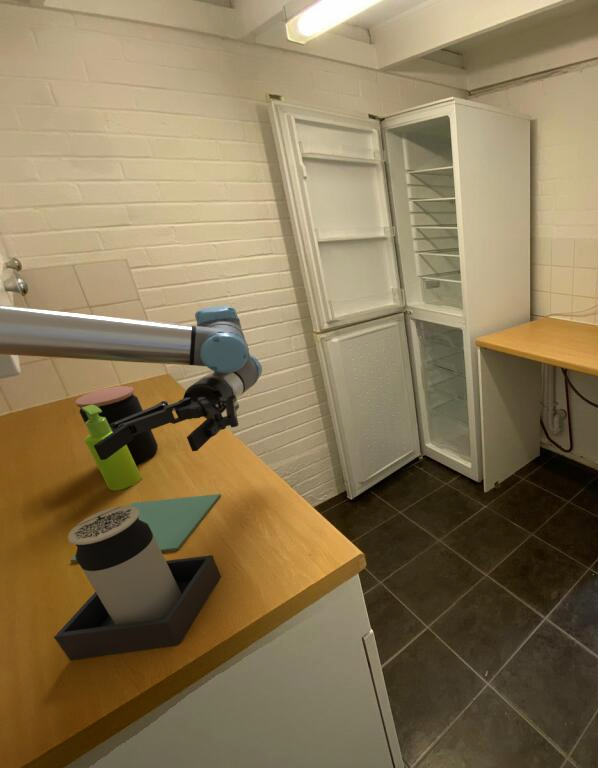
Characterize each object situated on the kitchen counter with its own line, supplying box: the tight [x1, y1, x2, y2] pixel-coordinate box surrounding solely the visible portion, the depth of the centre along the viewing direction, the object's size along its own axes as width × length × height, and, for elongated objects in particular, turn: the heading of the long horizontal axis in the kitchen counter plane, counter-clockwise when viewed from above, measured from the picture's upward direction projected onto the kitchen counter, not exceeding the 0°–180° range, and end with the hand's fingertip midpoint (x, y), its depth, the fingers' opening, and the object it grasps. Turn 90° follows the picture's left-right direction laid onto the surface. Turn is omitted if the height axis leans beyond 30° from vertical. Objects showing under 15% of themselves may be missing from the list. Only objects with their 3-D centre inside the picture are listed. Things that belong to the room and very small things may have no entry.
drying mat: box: [70, 493, 222, 563], centre depth 84 cm, size 18×16×1 cm
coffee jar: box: [74, 385, 159, 465], centre depth 104 cm, size 11×11×18 cm
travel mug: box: [67, 505, 182, 625], centre depth 62 cm, size 8×8×18 cm
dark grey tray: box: [53, 554, 222, 661], centre depth 65 cm, size 14×12×5 cm
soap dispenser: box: [82, 404, 142, 491], centre depth 94 cm, size 6×7×20 cm
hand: (146, 448), depth 67 cm, fingers open, 13 cm apart
